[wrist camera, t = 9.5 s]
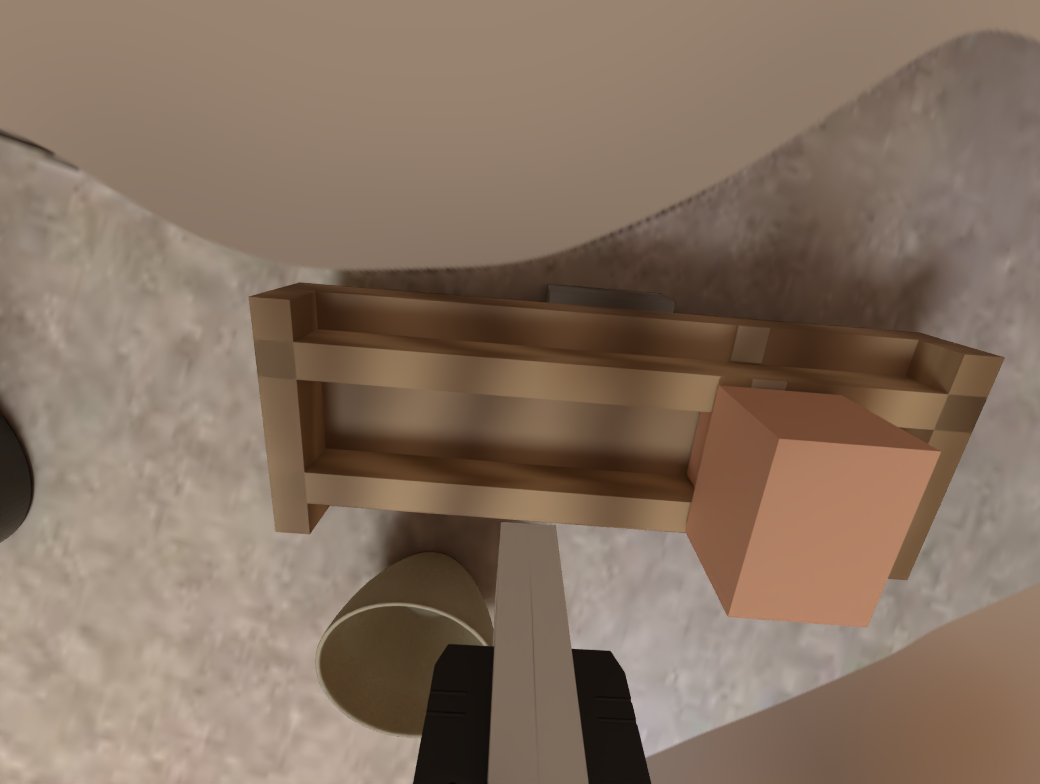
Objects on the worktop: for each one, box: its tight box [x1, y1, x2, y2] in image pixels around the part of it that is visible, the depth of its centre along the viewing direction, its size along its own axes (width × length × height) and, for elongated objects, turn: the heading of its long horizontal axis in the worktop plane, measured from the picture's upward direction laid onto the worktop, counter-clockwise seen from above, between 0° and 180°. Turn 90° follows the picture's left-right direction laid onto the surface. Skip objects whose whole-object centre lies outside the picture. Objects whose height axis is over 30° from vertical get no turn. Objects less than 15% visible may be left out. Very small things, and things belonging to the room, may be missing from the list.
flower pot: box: [315, 552, 493, 738], centre depth 29 cm, size 10×10×7 cm
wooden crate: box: [249, 283, 1004, 580], centre depth 24 cm, size 30×12×8 cm, turn 86°
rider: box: [685, 385, 941, 627], centre depth 19 cm, size 5×7×7 cm
